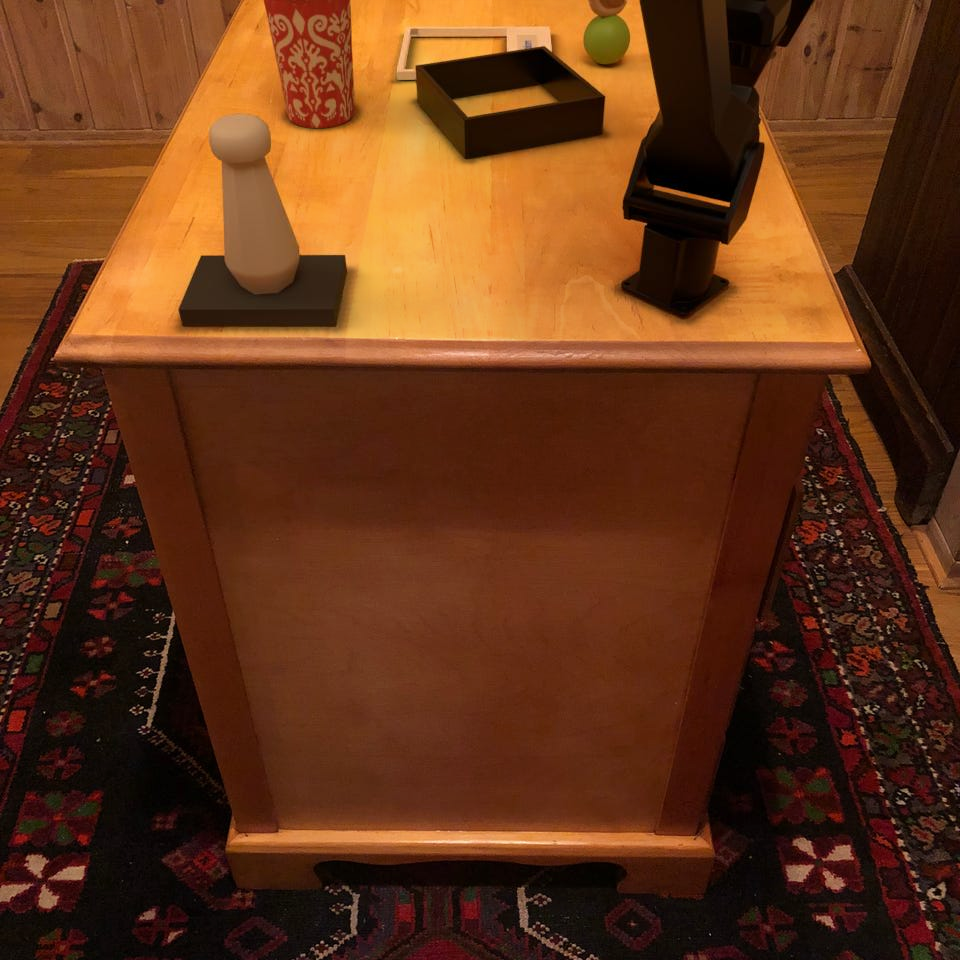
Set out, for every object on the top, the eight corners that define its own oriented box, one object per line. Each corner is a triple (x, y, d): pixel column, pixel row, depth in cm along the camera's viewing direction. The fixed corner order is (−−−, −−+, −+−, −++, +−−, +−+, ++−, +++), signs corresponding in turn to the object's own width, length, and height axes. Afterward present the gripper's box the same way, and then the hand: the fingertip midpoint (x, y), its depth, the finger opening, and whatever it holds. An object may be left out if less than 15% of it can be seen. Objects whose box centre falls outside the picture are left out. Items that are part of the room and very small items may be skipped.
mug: (358, 133, 99) (344, -6, 90) (272, 132, 99) (249, -6, 90) (373, 86, 108) (361, -45, 99) (294, 85, 109) (275, -45, 99)
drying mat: (336, 326, 74) (333, 308, 73) (182, 326, 74) (177, 309, 73) (347, 271, 80) (345, 254, 79) (204, 271, 80) (200, 255, 79)
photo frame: (554, 69, 108) (396, 69, 108) (553, 79, 109) (397, 79, 109) (549, 24, 118) (405, 25, 119) (549, 34, 119) (406, 34, 120)
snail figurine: (566, 62, 113) (571, -50, 104) (608, 51, 115) (617, -59, 107) (594, 77, 110) (602, -38, 101) (637, 65, 112) (648, -48, 104)
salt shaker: (318, 274, 76) (295, 114, 67) (272, 308, 73) (241, 145, 64) (262, 255, 79) (233, 98, 70) (215, 287, 75) (177, 126, 66)
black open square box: (602, 134, 98) (605, 96, 96) (465, 159, 94) (464, 120, 92) (543, 81, 109) (544, 45, 106) (417, 102, 105) (415, 65, 102)
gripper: (735, -198, 74) (714, 3, 86) (629, -102, 65) (622, 108, 77) (879, -184, 70) (835, 26, 82) (787, -79, 61) (753, 140, 73)
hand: (760, 72), depth 79 cm, fingers open, 9 cm apart
